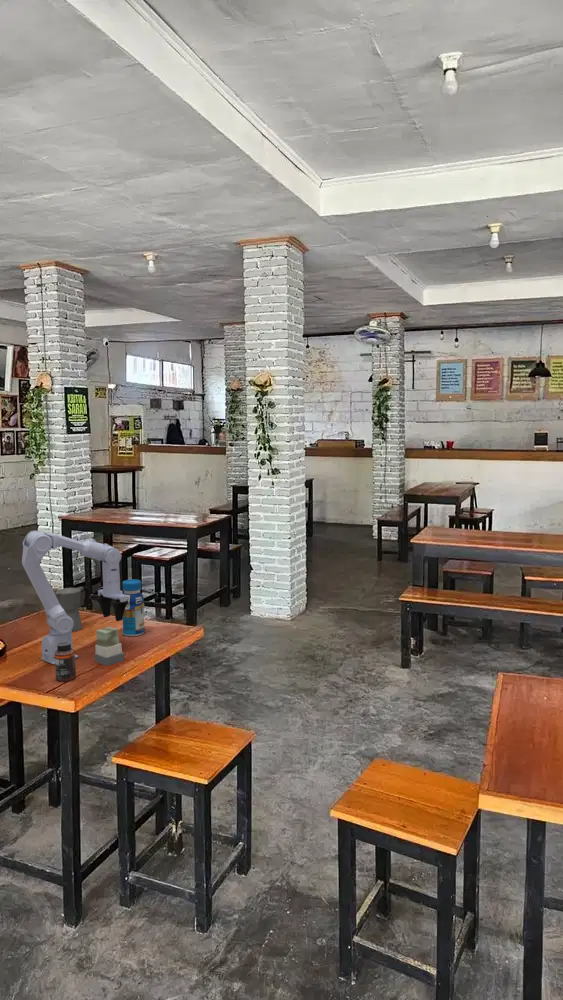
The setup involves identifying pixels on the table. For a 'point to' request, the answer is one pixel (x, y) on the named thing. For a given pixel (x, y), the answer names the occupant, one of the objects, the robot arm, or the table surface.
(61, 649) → the supplement bottle
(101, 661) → the tower base
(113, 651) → the tower top
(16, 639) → the table surface
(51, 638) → the robot arm
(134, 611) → the beverage bottle
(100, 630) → the sage block
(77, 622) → the coffeepot
